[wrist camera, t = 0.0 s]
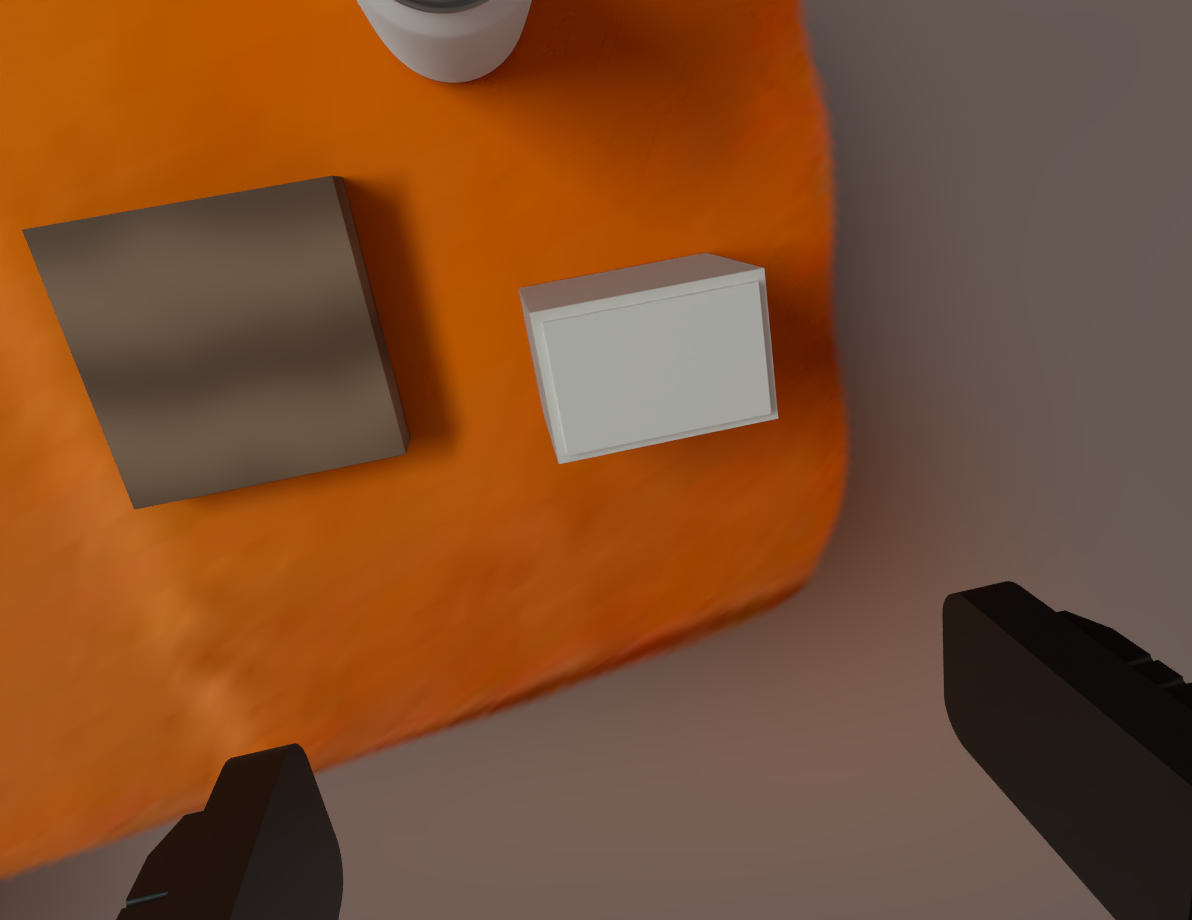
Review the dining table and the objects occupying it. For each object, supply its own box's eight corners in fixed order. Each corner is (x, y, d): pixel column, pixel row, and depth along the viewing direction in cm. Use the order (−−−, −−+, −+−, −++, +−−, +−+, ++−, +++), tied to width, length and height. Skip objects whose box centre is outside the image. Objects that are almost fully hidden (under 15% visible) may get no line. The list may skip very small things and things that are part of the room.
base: (54, 227, 33) (22, 229, 31) (342, 176, 34) (332, 175, 32) (156, 489, 37) (134, 509, 35) (410, 438, 38) (405, 454, 36)
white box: (518, 288, 37) (529, 314, 29) (706, 252, 37) (767, 268, 29) (542, 411, 39) (559, 467, 31) (720, 375, 39) (781, 420, 31)
